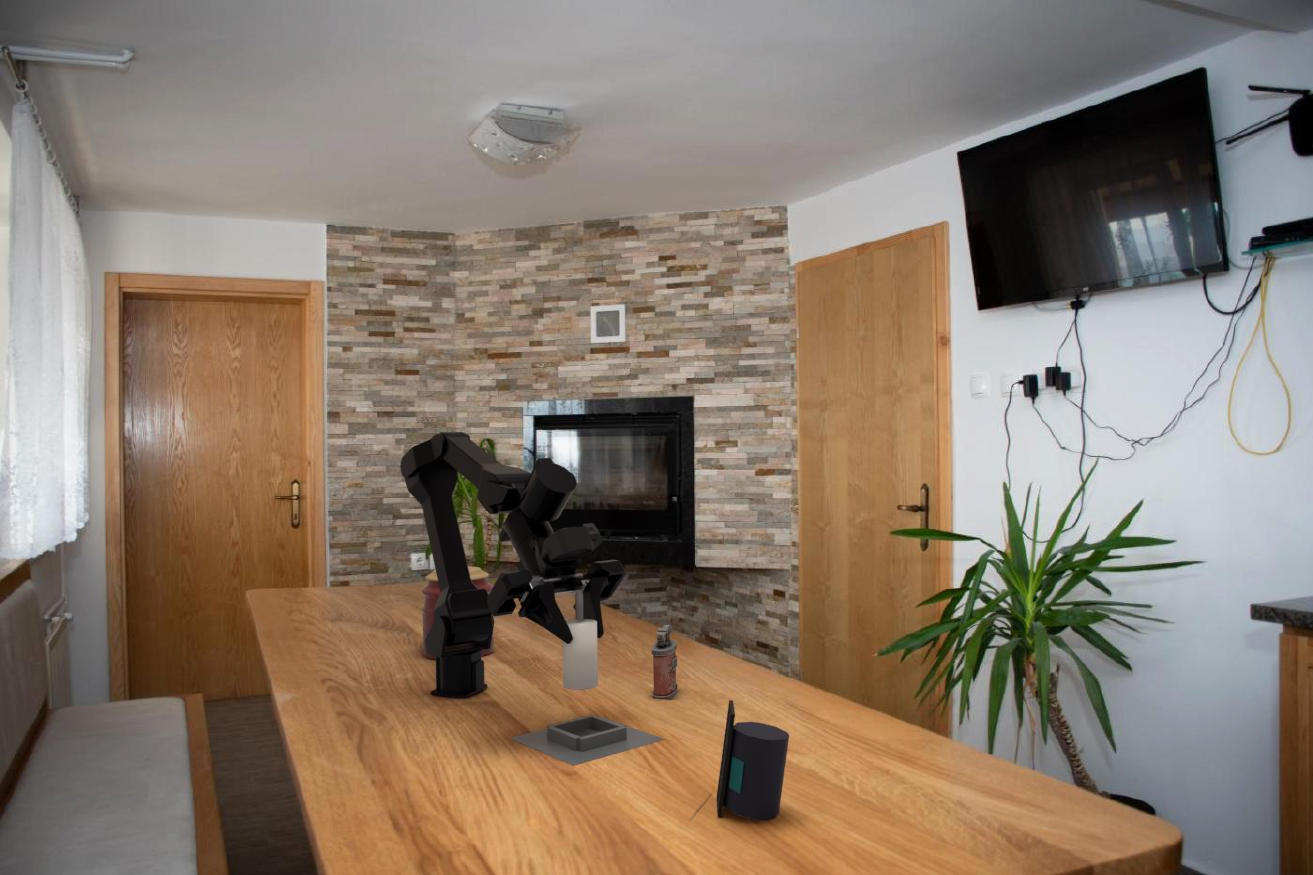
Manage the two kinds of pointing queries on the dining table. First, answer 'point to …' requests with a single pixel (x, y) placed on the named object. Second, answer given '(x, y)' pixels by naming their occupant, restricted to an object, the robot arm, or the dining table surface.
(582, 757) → the dock
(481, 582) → the canister
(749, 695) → the dining table surface
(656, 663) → the lighter
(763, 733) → the speaker
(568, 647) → the plug
